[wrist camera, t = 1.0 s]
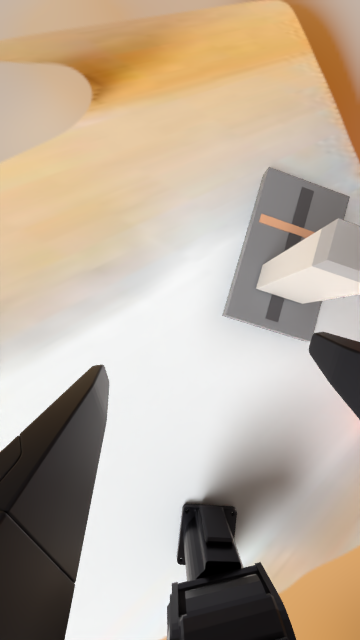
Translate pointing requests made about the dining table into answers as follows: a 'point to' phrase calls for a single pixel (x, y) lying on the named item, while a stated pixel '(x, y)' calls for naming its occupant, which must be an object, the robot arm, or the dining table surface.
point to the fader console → (280, 251)
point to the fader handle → (317, 266)
